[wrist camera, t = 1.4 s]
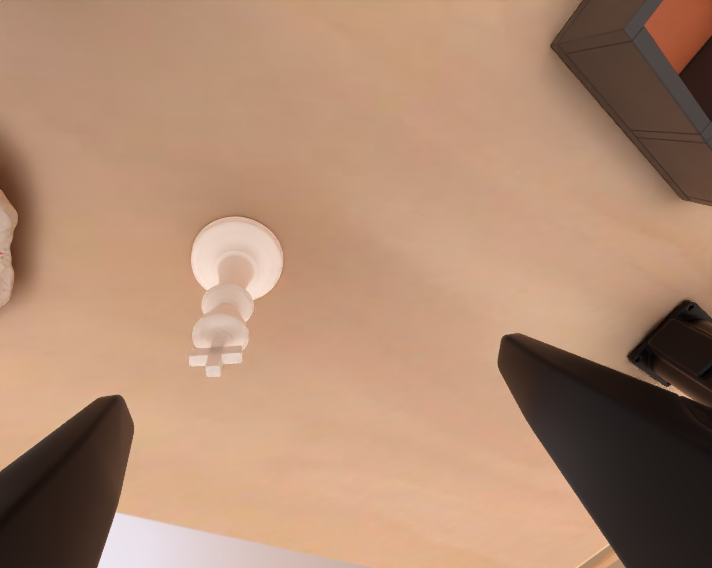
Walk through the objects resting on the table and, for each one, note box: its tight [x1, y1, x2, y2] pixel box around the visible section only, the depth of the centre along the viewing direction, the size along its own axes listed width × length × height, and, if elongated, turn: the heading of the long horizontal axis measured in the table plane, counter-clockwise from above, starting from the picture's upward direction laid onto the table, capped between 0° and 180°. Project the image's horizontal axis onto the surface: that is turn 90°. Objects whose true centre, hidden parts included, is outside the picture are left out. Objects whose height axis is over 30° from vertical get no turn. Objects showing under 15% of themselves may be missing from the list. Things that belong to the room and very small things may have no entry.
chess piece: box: [188, 217, 283, 377], centre depth 16 cm, size 5×5×10 cm
